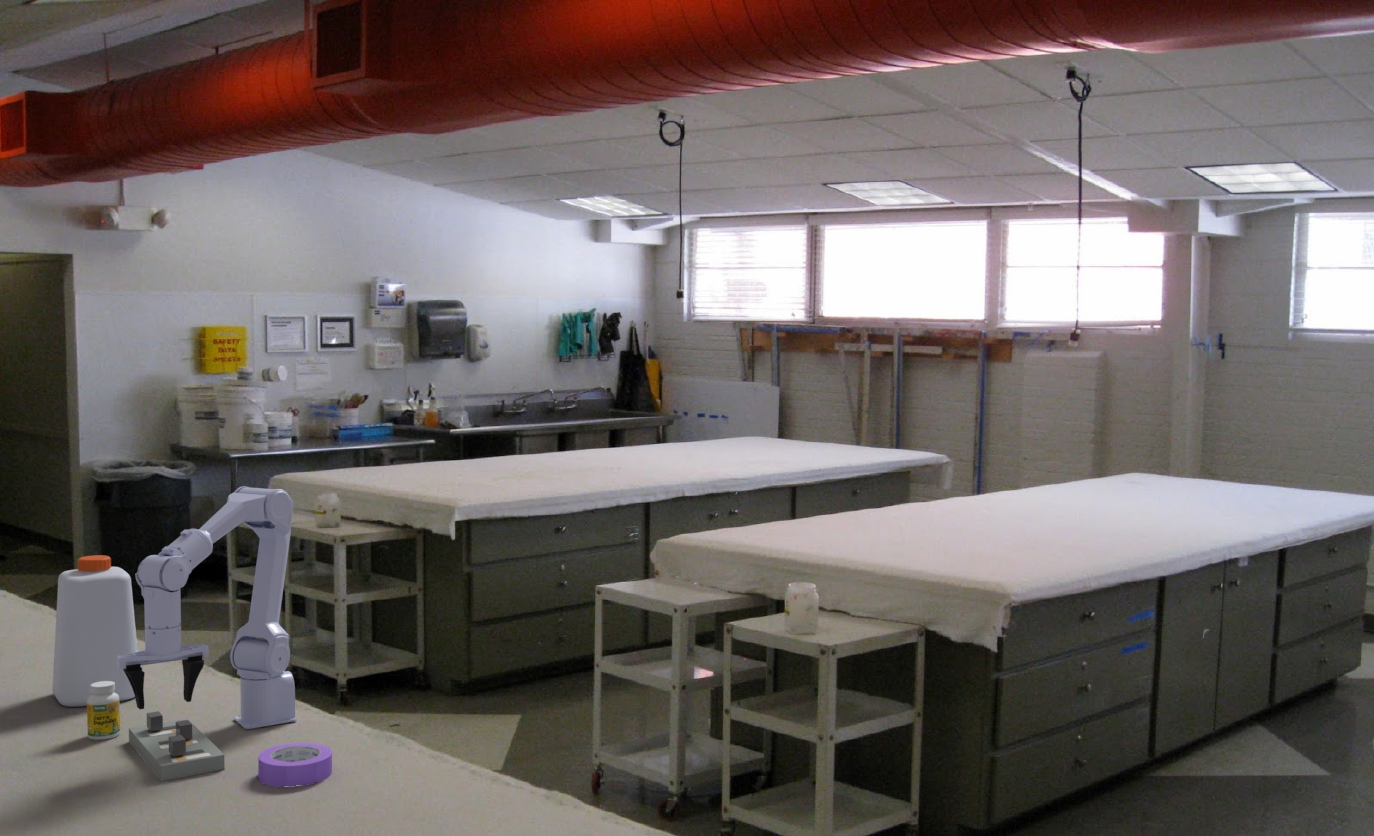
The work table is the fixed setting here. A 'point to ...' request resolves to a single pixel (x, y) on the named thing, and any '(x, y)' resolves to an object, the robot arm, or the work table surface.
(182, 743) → the block
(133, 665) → the robot arm
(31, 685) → the work table surface
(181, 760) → the switch panel
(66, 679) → the plastic bottle
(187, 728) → the slider middle
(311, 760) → the masking tape
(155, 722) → the slider back
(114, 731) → the supplement bottle
